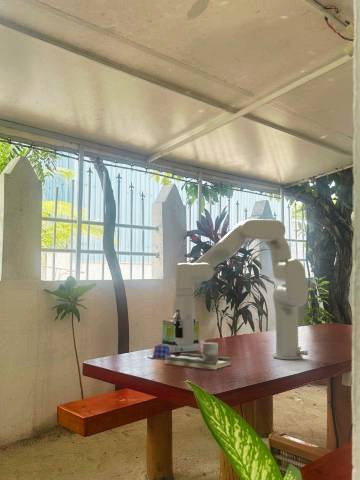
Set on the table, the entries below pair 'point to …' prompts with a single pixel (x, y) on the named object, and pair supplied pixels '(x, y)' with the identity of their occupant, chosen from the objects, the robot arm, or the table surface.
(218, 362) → the grey tray
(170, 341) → the tea box
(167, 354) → the blue plaid cloth
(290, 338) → the robot arm
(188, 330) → the can
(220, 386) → the table surface
